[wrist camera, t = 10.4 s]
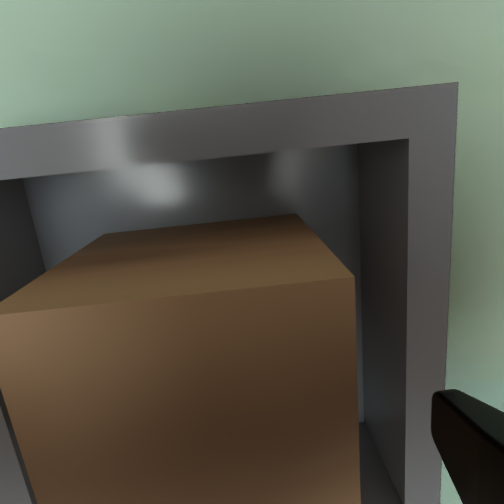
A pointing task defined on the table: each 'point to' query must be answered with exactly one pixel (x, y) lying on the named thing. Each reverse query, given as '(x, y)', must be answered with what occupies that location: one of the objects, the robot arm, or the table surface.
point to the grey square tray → (263, 205)
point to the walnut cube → (188, 369)
